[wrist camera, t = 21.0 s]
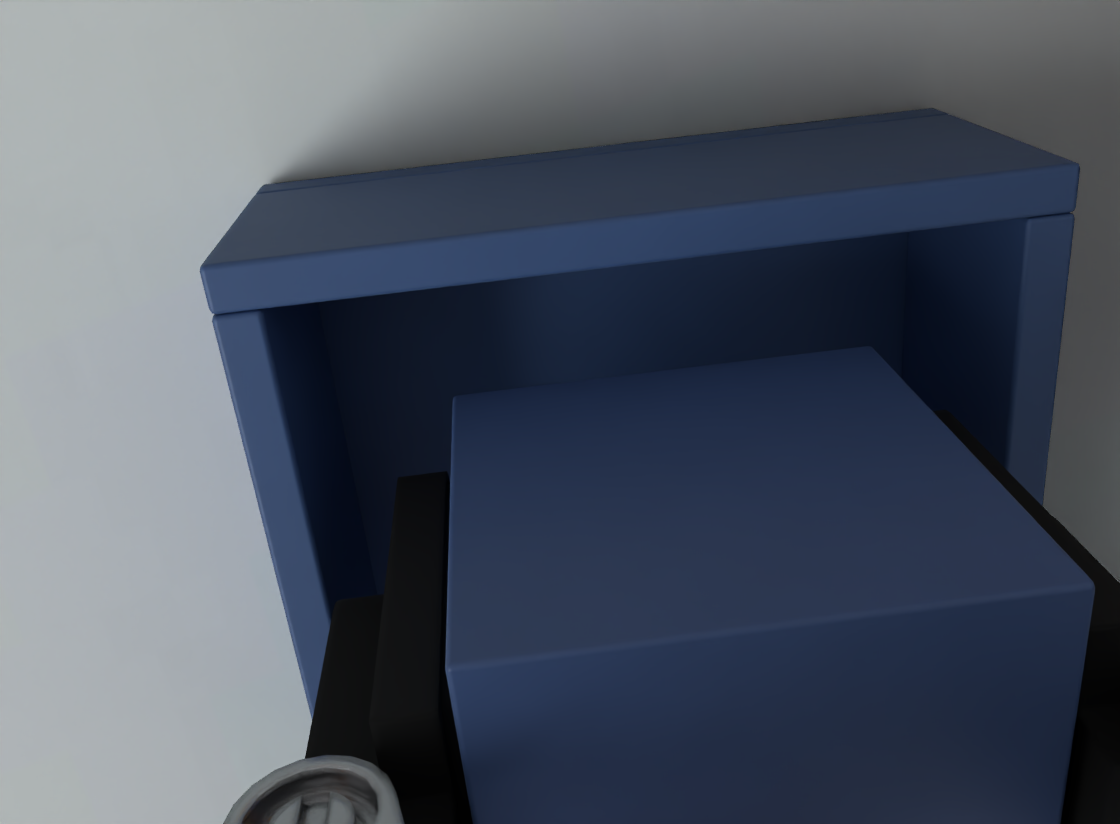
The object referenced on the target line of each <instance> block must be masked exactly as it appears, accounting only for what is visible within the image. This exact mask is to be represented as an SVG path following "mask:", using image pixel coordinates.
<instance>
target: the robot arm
mask: <svg viewBox="0 0 1120 824" xmlns="http://www.w3.org/2000/svg"><path fill="white" fill-rule="evenodd" d="M933 412H934V413H935V414H936V416H937V417H938V418H939V419H940V420H941V421H942V422H943V423H944V424H945V425H946V426H947V427H948V428H949V429H950V430H951V431H952V432H953V434H954V435H955V436H956V437H957V438H958V439H959V440H960V441H961V442H962V443H963V444H964V445H965V446H966V447H967V448H968V449H969V451H970V452H971V453H972V454H973V455H974V456H975V457H976V458H977V459H978V460H979V461H980V462H981V463H982V464H983V465H984V466H985V467H986V469H987V470H988V471H989V472H990V473H991V474H992V475H993V476H994V477H995V478H996V479H997V480H998V481H999V482H1000V483H1001V484H1002V485H1003V487H1004V488H1005V489H1006V490H1007V491H1008V492H1009V493H1010V494H1011V495H1012V496H1013V497H1014V498H1015V499H1016V500H1017V501H1018V502H1019V503H1020V505H1021V506H1022V507H1023V508H1024V509H1025V510H1026V511H1027V512H1028V513H1029V514H1030V515H1031V516H1032V517H1033V518H1034V519H1035V520H1036V521H1037V523H1038V524H1039V525H1040V526H1041V527H1042V528H1043V529H1044V530H1045V531H1046V532H1047V533H1048V534H1049V535H1050V536H1051V537H1052V538H1053V539H1054V541H1055V542H1056V543H1057V544H1058V545H1059V546H1060V547H1061V548H1062V549H1063V550H1064V551H1065V552H1066V553H1067V554H1068V555H1069V556H1070V558H1071V559H1072V560H1073V561H1074V562H1075V563H1076V564H1077V565H1078V566H1079V567H1080V568H1081V569H1082V570H1083V571H1084V572H1085V573H1086V574H1087V576H1088V577H1089V578H1090V579H1091V580H1092V581H1093V583H1094V585H1095V594H1094V601H1093V608H1092V615H1091V621H1090V628H1089V635H1088V642H1087V648H1086V655H1085V662H1084V669H1083V676H1082V682H1081V689H1080V696H1079V703H1078V709H1077V716H1076V723H1075V730H1074V736H1073V743H1072V750H1071V757H1070V764H1069V770H1068V777H1067V784H1066V791H1065V797H1064V804H1063V811H1062V818H1061V824H1120V583H1119V582H1118V581H1117V580H1116V579H1115V578H1114V577H1113V576H1112V575H1111V574H1110V573H1109V572H1108V571H1107V570H1106V569H1105V568H1104V567H1103V566H1102V565H1101V564H1100V563H1099V562H1098V561H1097V560H1096V559H1095V558H1094V557H1093V556H1092V555H1091V554H1090V553H1089V552H1088V551H1087V550H1086V549H1085V548H1084V547H1083V546H1082V545H1081V544H1080V543H1079V542H1078V541H1077V540H1076V539H1075V538H1074V537H1073V536H1072V535H1071V534H1070V532H1069V531H1068V530H1067V529H1066V528H1065V527H1064V526H1063V525H1062V524H1061V523H1060V522H1059V521H1058V520H1057V519H1056V518H1054V517H1053V516H1051V515H1050V513H1049V512H1048V511H1047V510H1046V509H1045V508H1044V507H1043V506H1042V505H1041V504H1040V503H1039V502H1038V501H1037V500H1036V499H1035V498H1034V497H1033V496H1032V495H1031V494H1030V493H1029V492H1028V491H1027V490H1026V489H1025V488H1024V487H1023V486H1022V485H1021V484H1020V483H1019V482H1018V481H1017V480H1016V479H1015V478H1014V477H1013V476H1012V475H1011V474H1010V473H1009V472H1008V471H1007V470H1006V469H1005V468H1004V467H1003V466H1002V465H1001V464H1000V463H999V462H998V461H997V459H996V458H995V457H994V456H993V455H992V454H991V453H990V452H989V451H988V450H987V449H986V448H985V447H984V446H983V445H982V444H981V443H980V442H979V441H978V440H977V439H976V438H975V437H974V436H973V435H972V434H971V433H970V432H969V431H968V430H967V429H966V428H965V427H964V426H963V425H962V424H961V423H960V422H959V421H958V420H957V419H956V418H955V417H954V416H953V415H952V414H951V413H950V412H949V411H947V410H937V411H933ZM449 515H450V480H449V476H448V473H447V471H443V472H435V473H427V474H419V475H411V476H403V477H398V480H397V487H396V495H395V504H394V512H393V521H392V529H391V538H390V546H389V555H388V563H387V572H386V580H385V589H384V594H381V595H373V596H365V597H357V598H349V599H342V600H338V601H337V602H336V603H335V606H334V609H333V613H332V618H331V624H330V629H329V634H328V640H327V645H326V650H325V655H324V661H323V666H322V671H321V677H320V682H319V687H318V693H317V698H316V703H315V709H314V714H313V719H312V724H311V730H310V735H309V740H308V746H307V751H306V756H305V759H302V760H299V761H296V762H294V763H291V764H289V765H286V766H284V767H282V768H279V769H277V770H274V771H273V772H271V773H270V774H268V775H267V776H265V777H264V778H262V779H261V780H259V781H258V782H256V783H255V784H253V785H252V786H251V787H250V788H249V789H248V790H247V791H246V792H245V793H244V794H243V795H242V796H241V797H240V798H239V799H238V800H237V802H236V803H235V804H234V805H233V807H232V808H231V810H230V812H229V814H228V816H227V818H226V819H225V821H224V823H223V824H473V822H472V816H471V811H470V805H469V800H468V794H467V788H466V783H465V777H464V772H463V766H462V760H461V755H460V749H459V744H458V738H457V732H456V727H455V721H454V716H453V710H452V704H451V699H450V693H449V688H448V682H447V676H446V671H445V658H446V622H447V587H448V551H449Z"/></svg>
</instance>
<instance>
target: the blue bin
mask: <svg viewBox="0 0 1120 824" xmlns="http://www.w3.org/2000/svg"><path fill="white" fill-rule="evenodd" d="M1079 173H1080V167H1079V164H1078V163H1076V162H1073V161H1071V160H1068V159H1065V158H1063V157H1060V156H1057V155H1055V154H1052V153H1050V152H1047V151H1044V150H1042V149H1039V148H1036V147H1034V146H1031V145H1029V144H1026V143H1023V142H1021V141H1018V140H1015V139H1013V138H1010V137H1008V136H1005V135H1002V134H1000V133H997V132H995V131H992V130H989V129H987V128H984V127H981V126H979V125H976V124H974V123H971V122H968V121H966V120H963V119H960V118H958V117H955V116H953V115H949V114H947V113H945V112H942V111H939V110H937V109H934V108H928V109H920V110H911V111H902V112H893V113H885V114H876V115H867V116H859V117H850V118H841V119H833V120H824V121H815V122H806V123H798V124H789V125H780V126H772V127H763V128H754V129H745V130H737V131H728V132H719V133H711V134H702V135H693V136H684V137H676V138H667V139H658V140H650V141H641V142H632V143H623V144H615V145H606V146H597V147H589V148H580V149H571V150H563V151H554V152H545V153H536V154H528V155H519V156H510V157H502V158H493V159H484V160H475V161H467V162H458V163H449V164H441V165H432V166H423V167H414V168H406V169H397V170H388V171H380V172H371V173H362V174H353V175H345V176H336V177H327V178H319V179H310V180H301V181H293V182H284V183H275V184H266V185H263V186H262V187H261V188H260V189H259V191H258V192H257V193H256V195H255V196H254V197H253V198H252V200H251V201H250V202H249V204H248V205H247V206H246V208H245V209H244V210H243V212H242V213H241V214H240V215H239V217H238V218H237V219H236V221H235V222H234V223H233V225H232V226H231V227H230V229H229V230H228V231H227V233H226V234H225V235H224V236H223V238H222V239H221V240H220V242H219V243H218V244H217V246H216V247H215V248H214V250H213V251H212V252H211V253H210V255H209V256H208V257H207V259H206V260H205V261H204V263H203V264H202V265H201V267H200V274H201V278H202V282H203V286H204V290H205V294H206V298H207V302H208V306H209V309H210V311H211V312H212V313H214V316H213V320H212V322H213V326H214V330H215V334H216V338H217V342H218V346H219V350H220V354H221V358H222V362H223V366H224V370H225V374H226V378H227V382H228V386H229V390H230V394H231V398H232V402H233V406H234V410H235V414H236V418H237V422H238V426H239V430H240V434H241V438H242V442H243V446H244V450H245V454H246V458H247V462H248V466H249V470H250V474H251V478H252V482H253V486H254V490H255V494H256V498H257V502H258V506H259V510H260V514H261V518H262V522H263V526H264V530H265V534H266V538H267V542H268V546H269V550H270V554H271V558H272V562H273V565H274V569H275V573H276V577H277V581H278V585H279V589H280V593H281V597H282V601H283V605H284V609H285V613H286V617H287V621H288V625H289V629H290V633H291V637H292V641H293V645H294V649H295V653H296V657H297V661H298V665H299V669H300V673H301V677H302V681H303V685H304V689H305V693H306V697H307V701H308V705H309V709H310V713H311V717H312V719H313V714H314V709H315V703H316V698H317V693H318V687H319V682H320V677H321V671H322V666H323V661H324V655H325V650H326V645H327V640H328V634H329V629H330V624H331V618H332V613H333V609H334V606H335V603H336V602H337V601H338V600H342V599H349V598H357V597H365V596H373V595H381V594H384V589H385V580H386V572H387V563H388V555H389V546H390V538H391V529H392V521H393V512H394V504H395V495H396V487H397V480H398V477H403V476H411V475H419V474H427V473H435V472H443V471H447V473H448V476H449V480H450V479H451V444H452V408H453V398H454V397H455V396H458V395H466V394H474V393H482V392H491V391H499V390H507V389H516V388H524V387H532V386H541V385H549V384H557V383H565V382H574V381H582V380H590V379H599V378H607V377H615V376H624V375H632V374H640V373H648V372H657V371H665V370H673V369H682V368H690V367H698V366H707V365H715V364H723V363H731V362H740V361H748V360H756V359H765V358H773V357H781V356H790V355H798V354H806V353H814V352H823V351H831V350H839V349H848V348H856V347H864V346H870V347H872V348H873V349H874V350H875V351H876V352H877V353H878V354H879V355H880V356H881V357H882V358H883V359H884V360H885V362H886V363H887V364H888V365H889V366H890V367H891V368H892V369H893V370H894V371H895V372H896V373H897V374H898V375H899V376H900V377H901V378H902V380H903V381H904V382H905V383H906V384H907V385H908V386H909V387H910V388H911V389H912V390H913V391H914V392H915V393H916V394H917V395H918V396H919V398H920V399H921V400H922V401H923V402H924V403H925V404H926V405H927V406H928V407H929V408H930V409H931V410H932V411H937V410H947V411H949V412H950V413H951V414H952V415H953V416H954V417H955V418H956V419H957V420H958V421H959V422H960V423H961V424H962V425H963V426H964V427H965V428H966V429H967V430H968V431H969V432H970V433H971V434H972V435H973V436H974V437H975V438H976V439H977V440H978V441H979V442H980V443H981V444H982V445H983V446H984V447H985V448H986V449H987V450H988V451H989V452H990V453H991V454H992V455H993V456H994V457H995V458H996V459H997V461H998V462H999V463H1000V464H1001V465H1002V466H1003V467H1004V468H1005V469H1006V470H1007V471H1008V472H1009V473H1010V474H1011V475H1012V476H1013V477H1014V478H1015V479H1016V480H1017V481H1018V482H1019V483H1020V484H1021V485H1022V486H1023V487H1024V488H1025V489H1026V490H1027V491H1028V492H1029V493H1030V494H1031V495H1032V496H1033V497H1034V498H1035V499H1036V500H1037V501H1038V502H1039V503H1040V504H1041V505H1043V496H1044V487H1045V478H1046V469H1047V460H1048V451H1049V442H1050V434H1051V425H1052V416H1053V407H1054V398H1055V389H1056V380H1057V371H1058V362H1059V353H1060V345H1061V336H1062V327H1063V318H1064V309H1065V300H1066V291H1067V282H1068V273H1069V265H1070V256H1071V247H1072V238H1073V229H1074V220H1075V218H1074V215H1073V214H1072V213H1070V212H1072V211H1074V210H1075V207H1076V200H1077V191H1078V182H1079Z"/></svg>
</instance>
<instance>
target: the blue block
mask: <svg viewBox="0 0 1120 824" xmlns="http://www.w3.org/2000/svg"><path fill="white" fill-rule="evenodd" d="M1094 594H1095V585H1094V583H1093V581H1092V580H1091V579H1090V578H1089V577H1088V576H1087V574H1086V573H1085V572H1084V571H1083V570H1082V569H1081V568H1080V567H1079V566H1078V565H1077V564H1076V563H1075V562H1074V561H1073V560H1072V559H1071V558H1070V556H1069V555H1068V554H1067V553H1066V552H1065V551H1064V550H1063V549H1062V548H1061V547H1060V546H1059V545H1058V544H1057V543H1056V542H1055V541H1054V539H1053V538H1052V537H1051V536H1050V535H1049V534H1048V533H1047V532H1046V531H1045V530H1044V529H1043V528H1042V527H1041V526H1040V525H1039V524H1038V523H1037V521H1036V520H1035V519H1034V518H1033V517H1032V516H1031V515H1030V514H1029V513H1028V512H1027V511H1026V510H1025V509H1024V508H1023V507H1022V506H1021V505H1020V503H1019V502H1018V501H1017V500H1016V499H1015V498H1014V497H1013V496H1012V495H1011V494H1010V493H1009V492H1008V491H1007V490H1006V489H1005V488H1004V487H1003V485H1002V484H1001V483H1000V482H999V481H998V480H997V479H996V478H995V477H994V476H993V475H992V474H991V473H990V472H989V471H988V470H987V469H986V467H985V466H984V465H983V464H982V463H981V462H980V461H979V460H978V459H977V458H976V457H975V456H974V455H973V454H972V453H971V452H970V451H969V449H968V448H967V447H966V446H965V445H964V444H963V443H962V442H961V441H960V440H959V439H958V438H957V437H956V436H955V435H954V434H953V432H952V431H951V430H950V429H949V428H948V427H947V426H946V425H945V424H944V423H943V422H942V421H941V420H940V419H939V418H938V417H937V416H936V414H935V413H934V412H933V411H932V410H931V409H930V408H929V407H928V406H927V405H926V404H925V403H924V402H923V401H922V400H921V399H920V398H919V396H918V395H917V394H916V393H915V392H914V391H913V390H912V389H911V388H910V387H909V386H908V385H907V384H906V383H905V382H904V381H903V380H902V378H901V377H900V376H899V375H898V374H897V373H896V372H895V371H894V370H893V369H892V368H891V367H890V366H889V365H888V364H887V363H886V362H885V360H884V359H883V358H882V357H881V356H880V355H879V354H878V353H877V352H876V351H875V350H874V349H873V348H872V347H870V346H864V347H856V348H848V349H839V350H831V351H823V352H814V353H806V354H798V355H790V356H781V357H773V358H765V359H756V360H748V361H740V362H731V363H723V364H715V365H707V366H698V367H690V368H682V369H673V370H665V371H657V372H648V373H640V374H632V375H624V376H615V377H607V378H599V379H590V380H582V381H574V382H565V383H557V384H549V385H541V386H532V387H524V388H516V389H507V390H499V391H491V392H482V393H474V394H466V395H458V396H455V397H454V398H453V408H452V444H451V479H450V515H449V551H448V587H447V622H446V658H445V671H446V676H447V682H448V688H449V693H450V699H451V704H452V710H453V716H454V721H455V727H456V732H457V738H458V744H459V749H460V755H461V760H462V766H463V772H464V777H465V783H466V788H467V794H468V800H469V805H470V811H471V816H472V822H473V824H1061V818H1062V811H1063V804H1064V797H1065V791H1066V784H1067V777H1068V770H1069V764H1070V757H1071V750H1072V743H1073V736H1074V730H1075V723H1076V716H1077V709H1078V703H1079V696H1080V689H1081V682H1082V676H1083V669H1084V662H1085V655H1086V648H1087V642H1088V635H1089V628H1090V621H1091V615H1092V608H1093V601H1094Z"/></svg>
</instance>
